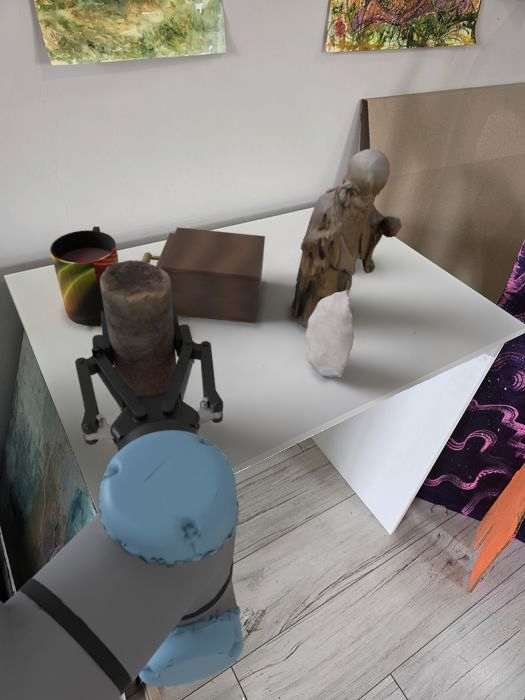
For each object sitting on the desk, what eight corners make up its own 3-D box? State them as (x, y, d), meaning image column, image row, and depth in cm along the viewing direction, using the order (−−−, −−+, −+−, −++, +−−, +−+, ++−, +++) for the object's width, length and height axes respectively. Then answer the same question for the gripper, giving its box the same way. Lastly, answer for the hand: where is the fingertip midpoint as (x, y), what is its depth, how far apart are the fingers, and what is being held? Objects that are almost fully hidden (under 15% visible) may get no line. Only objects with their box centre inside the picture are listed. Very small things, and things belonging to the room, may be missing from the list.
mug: (107, 273, 91) (96, 214, 83) (133, 315, 83) (124, 254, 75) (53, 286, 87) (36, 225, 79) (75, 332, 79) (59, 270, 71)
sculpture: (295, 341, 81) (323, 161, 60) (275, 301, 88) (294, 129, 68) (379, 328, 85) (432, 155, 64) (353, 291, 92) (394, 126, 72)
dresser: (164, 314, 84) (160, 266, 77) (179, 272, 93) (177, 227, 86) (255, 323, 84) (259, 276, 77) (261, 280, 93) (265, 235, 86)
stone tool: (294, 358, 78) (306, 280, 68) (308, 349, 80) (322, 272, 69) (336, 392, 73) (357, 314, 63) (350, 383, 75) (373, 305, 65)
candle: (148, 376, 67) (132, 250, 53) (191, 399, 65) (186, 273, 51) (108, 412, 62) (79, 283, 49) (154, 438, 60) (136, 310, 46)
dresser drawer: (133, 304, 84) (128, 266, 78) (150, 267, 92) (146, 230, 87) (243, 315, 83) (245, 277, 78) (249, 277, 92) (251, 240, 86)
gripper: (53, 523, 44) (57, 349, 59) (268, 478, 49) (219, 329, 64) (33, 477, 39) (43, 300, 54) (275, 432, 44) (220, 282, 59)
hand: (139, 316), depth 59 cm, fingers closed on candle, 7 cm apart
